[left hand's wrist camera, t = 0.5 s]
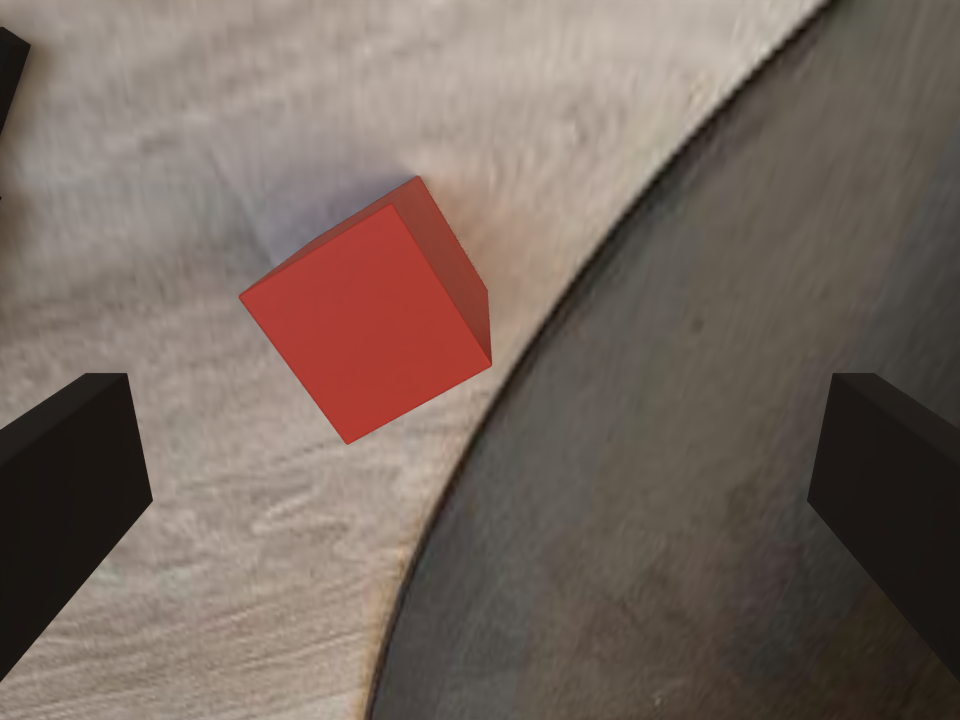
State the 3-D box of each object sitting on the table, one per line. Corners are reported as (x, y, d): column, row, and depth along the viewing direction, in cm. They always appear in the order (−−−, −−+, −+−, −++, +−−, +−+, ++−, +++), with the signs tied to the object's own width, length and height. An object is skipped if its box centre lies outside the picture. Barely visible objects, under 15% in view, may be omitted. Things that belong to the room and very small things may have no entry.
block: (418, 174, 33) (391, 201, 22) (488, 291, 35) (493, 366, 24) (311, 241, 34) (236, 296, 23) (384, 350, 36) (346, 446, 25)
